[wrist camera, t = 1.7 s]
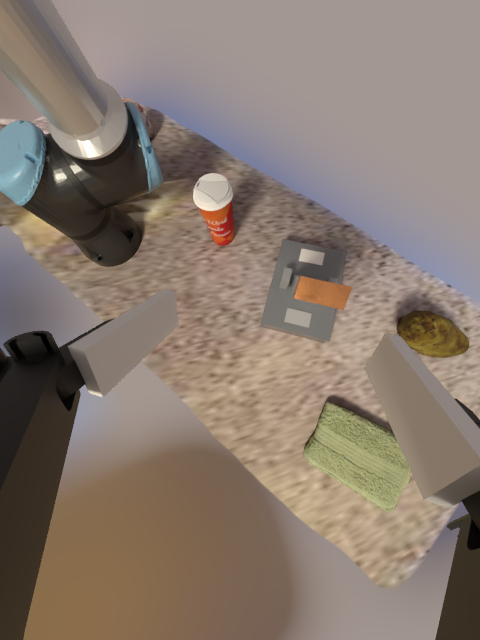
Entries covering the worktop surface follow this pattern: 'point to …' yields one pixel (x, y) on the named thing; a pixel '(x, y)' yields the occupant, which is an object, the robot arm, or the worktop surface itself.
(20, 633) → the robot arm
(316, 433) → the washcloth
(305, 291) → the lever
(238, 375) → the worktop surface
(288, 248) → the switch block
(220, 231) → the paper cup
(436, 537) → the worktop surface
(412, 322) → the potato
